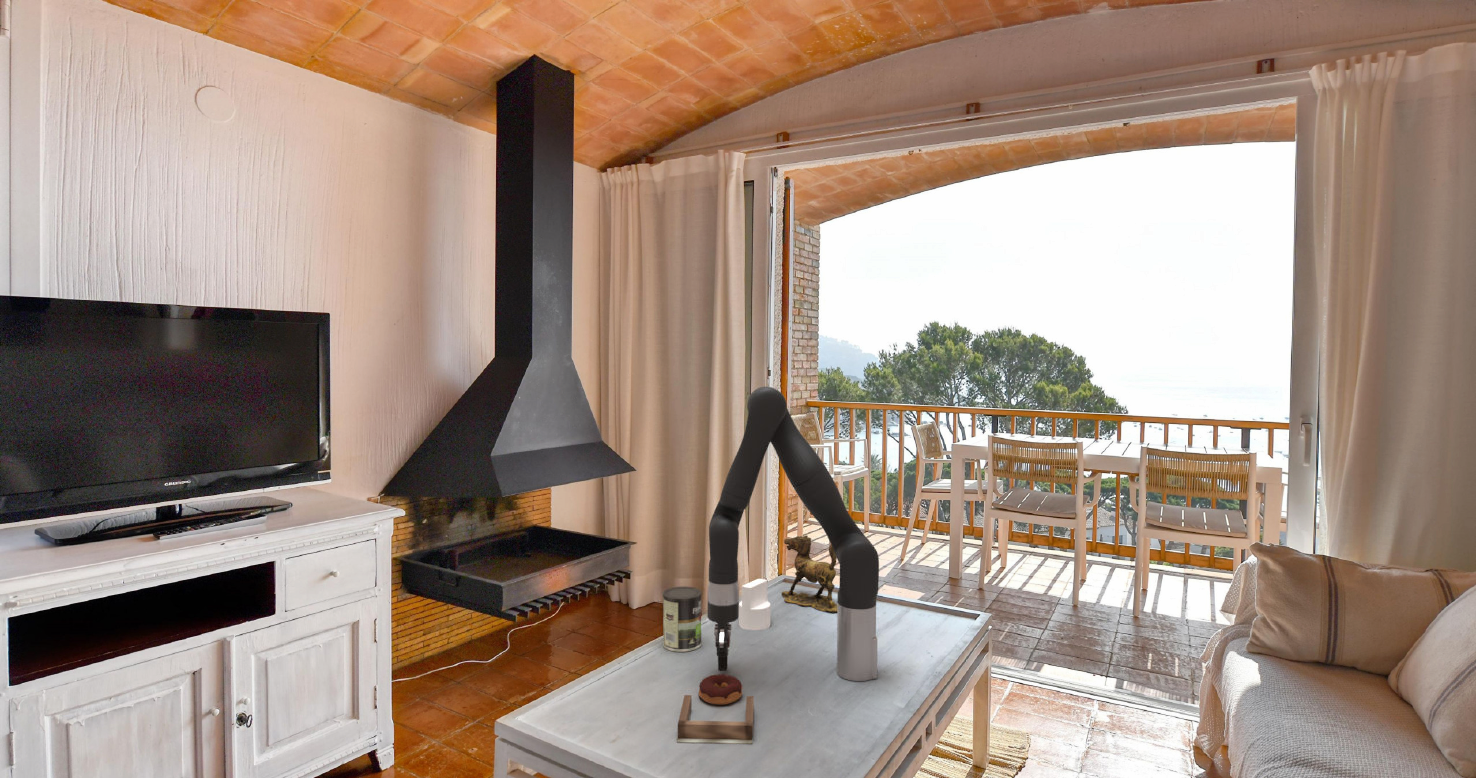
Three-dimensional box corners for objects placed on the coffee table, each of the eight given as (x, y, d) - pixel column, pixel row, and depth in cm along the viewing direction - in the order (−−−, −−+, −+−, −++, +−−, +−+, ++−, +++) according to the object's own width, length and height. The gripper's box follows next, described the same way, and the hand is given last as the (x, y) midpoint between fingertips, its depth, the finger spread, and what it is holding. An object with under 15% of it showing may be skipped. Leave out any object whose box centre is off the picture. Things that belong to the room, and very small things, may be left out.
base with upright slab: (750, 616, 214) (750, 576, 214) (776, 623, 209) (776, 581, 208) (732, 625, 207) (732, 584, 206) (758, 632, 202) (758, 590, 201)
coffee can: (705, 638, 198) (705, 587, 197) (696, 653, 188) (695, 599, 187) (669, 635, 200) (669, 584, 199) (657, 650, 190) (657, 597, 189)
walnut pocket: (753, 709, 158) (753, 696, 158) (752, 743, 144) (752, 729, 144) (684, 708, 159) (684, 694, 158) (676, 742, 145) (676, 727, 145)
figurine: (799, 588, 240) (799, 527, 239) (859, 608, 221) (859, 542, 220) (771, 597, 231) (771, 534, 230) (831, 618, 212) (831, 550, 211)
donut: (700, 686, 169) (700, 669, 169) (742, 687, 169) (742, 670, 169) (696, 707, 159) (696, 689, 159) (741, 708, 159) (741, 690, 159)
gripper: (737, 608, 168) (737, 682, 168) (739, 590, 181) (739, 658, 182) (705, 608, 168) (704, 681, 169) (709, 589, 181) (709, 657, 182)
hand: (722, 669), depth 175 cm, fingers closed
